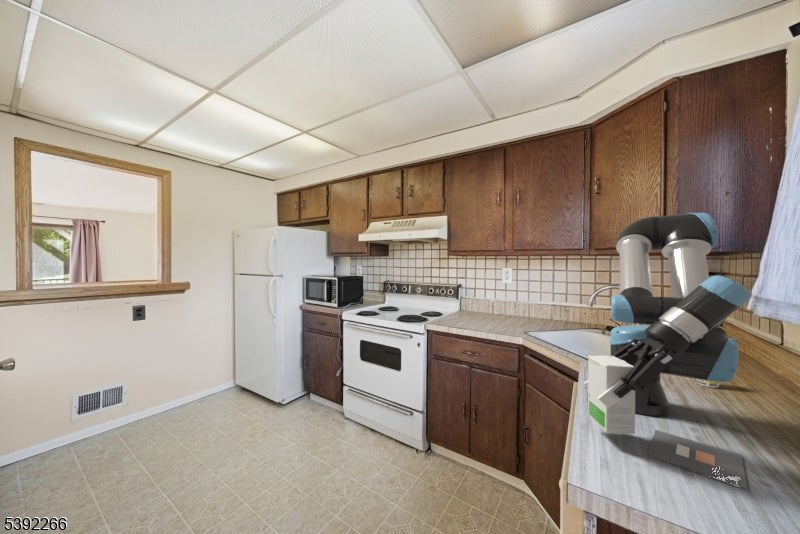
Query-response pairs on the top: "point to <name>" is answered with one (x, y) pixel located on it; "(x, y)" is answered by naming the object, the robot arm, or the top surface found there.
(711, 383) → the supplement bottle
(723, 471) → the mat
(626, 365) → the skincare box
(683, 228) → the robot arm
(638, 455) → the top surface
